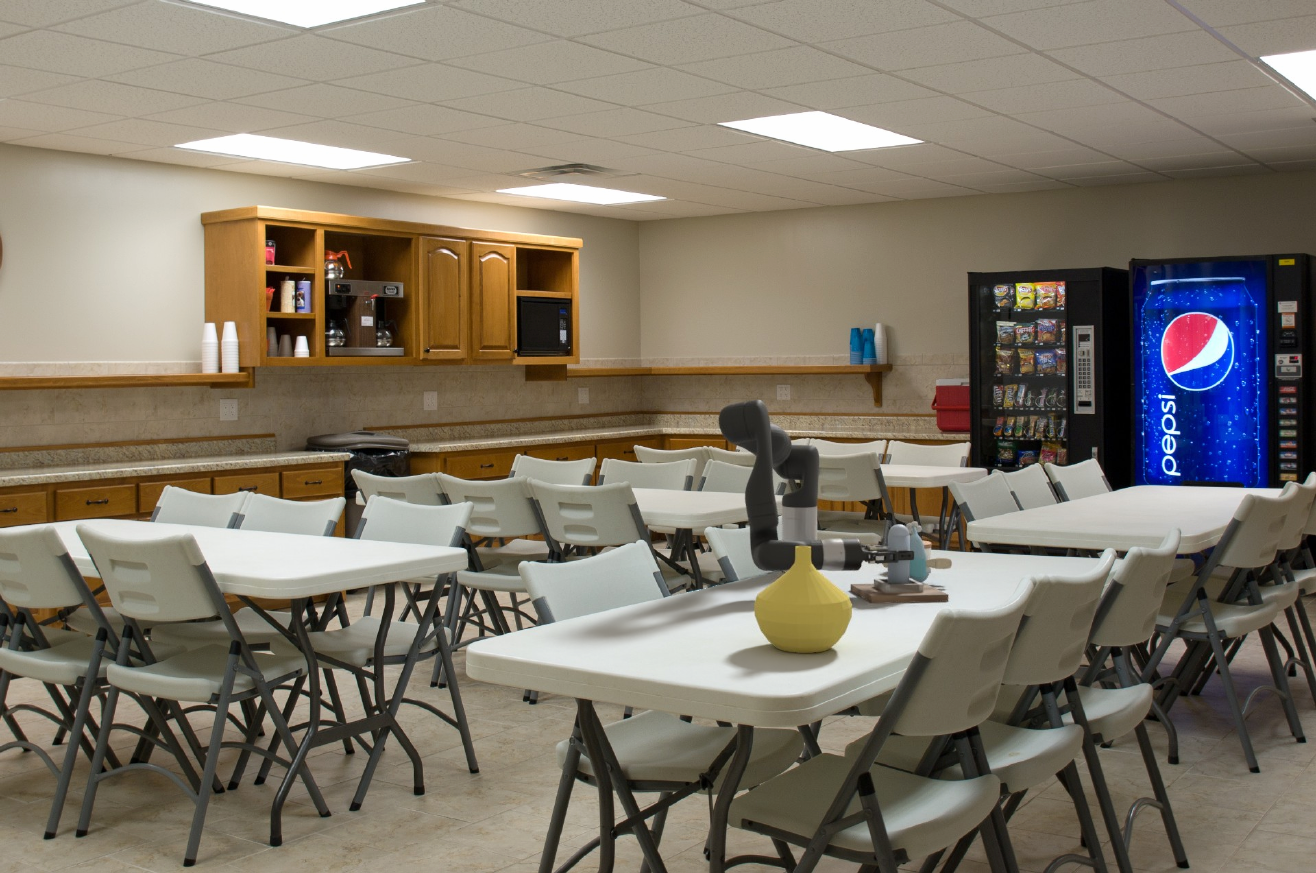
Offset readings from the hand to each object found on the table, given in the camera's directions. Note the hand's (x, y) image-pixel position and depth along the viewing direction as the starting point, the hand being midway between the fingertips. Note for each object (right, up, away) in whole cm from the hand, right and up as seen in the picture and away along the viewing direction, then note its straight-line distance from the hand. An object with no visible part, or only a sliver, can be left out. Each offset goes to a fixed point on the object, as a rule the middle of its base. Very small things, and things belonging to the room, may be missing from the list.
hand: (909, 553), depth 291 cm
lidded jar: (+8, -8, +37) cm, 39 cm away
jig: (-3, -10, 0) cm, 10 cm away
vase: (-32, -13, -56) cm, 66 cm away
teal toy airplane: (+5, -9, +18) cm, 21 cm away
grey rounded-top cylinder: (-3, -8, 0) cm, 8 cm away
